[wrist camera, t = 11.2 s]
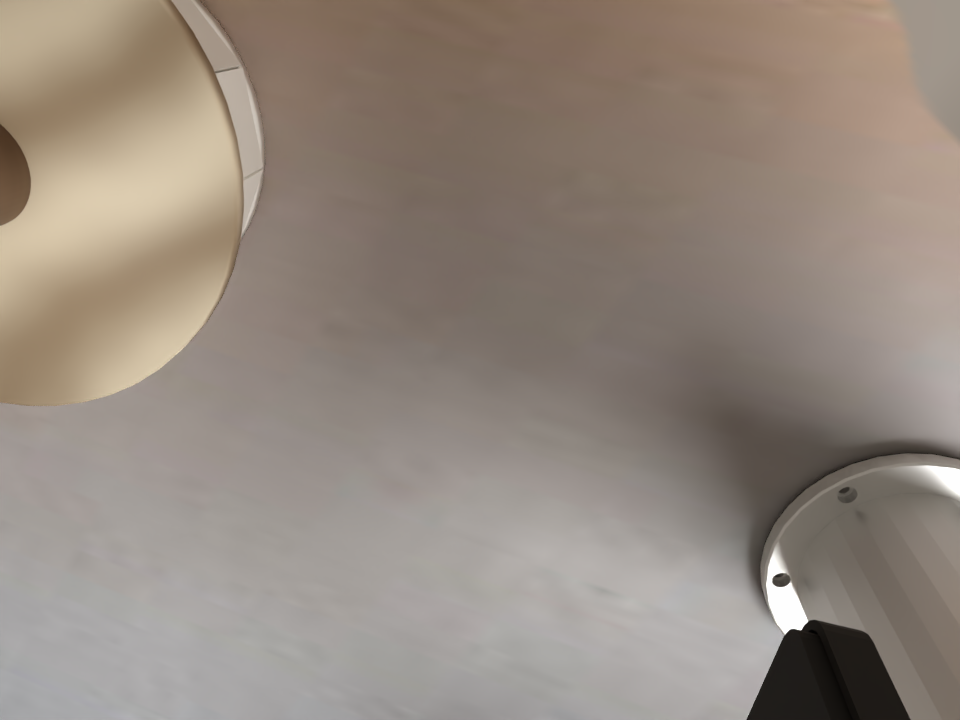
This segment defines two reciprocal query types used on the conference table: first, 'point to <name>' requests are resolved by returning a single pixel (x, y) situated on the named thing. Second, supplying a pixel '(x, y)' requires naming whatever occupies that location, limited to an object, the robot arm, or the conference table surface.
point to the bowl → (233, 98)
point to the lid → (108, 195)
